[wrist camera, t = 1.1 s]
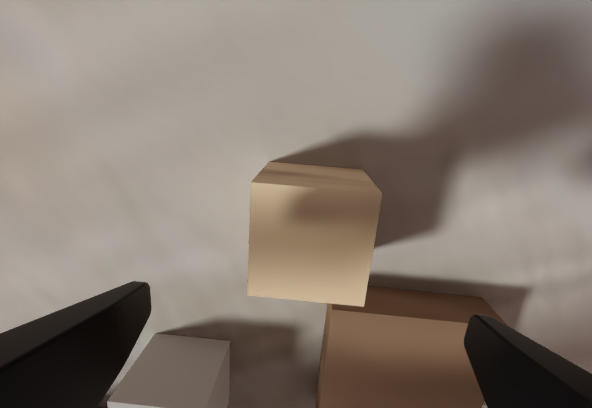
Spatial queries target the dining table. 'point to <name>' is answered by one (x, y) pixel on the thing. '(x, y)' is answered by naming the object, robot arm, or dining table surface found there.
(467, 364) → the walnut block
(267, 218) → the maple cube
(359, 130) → the dining table surface
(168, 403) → the grey cube
